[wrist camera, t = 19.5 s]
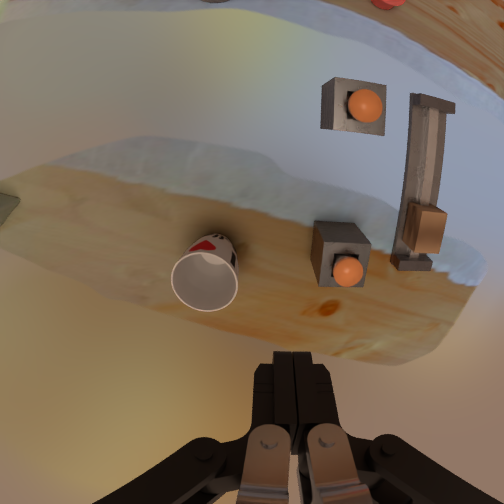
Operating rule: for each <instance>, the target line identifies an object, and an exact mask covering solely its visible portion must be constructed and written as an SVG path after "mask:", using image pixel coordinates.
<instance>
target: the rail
mask: <svg viewBox="0 0 504 504" xmlns="http://www.w3.org/2000/svg"><path fill="white" fill-rule="evenodd" d="M409 109H410V110H409V128H408V142H407V154H406V165H405V173H404V182H403V190H402V197H401V204H400V210H399V216H398V222H397V228H396V234H395V239H394V244H393V249H392V254H391V259H390V262H391V264H392V265H394V266H395V267H396V269H397V270H399V271H430V270H431V267H432V263H433V261H432V260H431V259H430V258H429V257H428V256H427V255H426V254H427V253H414V252H413V251H412V250H411V249H410V248H409V247H408V246H407V245H406V244H405V243H404V242H403V241H402V239H403V234H404V229H405V223H406V218H407V212H408V205H409V202H412V203H417V204H418V205H423V206H429V204H430V205H434V206H436V205H437V199H438V193H439V186H440V179H441V172H442V163H443V154H444V143H445V130H446V114H455V103H453V102H450V101H446V100H443V99H440V98H436V97H432V96H429V95H425V94H421V93H420V94H415V93H410V108H409Z"/></svg>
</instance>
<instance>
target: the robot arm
mask: <svg viewBox="0 0 504 504" xmlns="http://www.w3.org/2000/svg"><path fill="white" fill-rule="evenodd" d="M202 1H205V2H210V3H218V2H225V1H228V0H202ZM252 408H253V409H252V424H251V427H250V430H249V431H248V432H247V434H246V435H244V436H243V437H241V438H240V439H237V440H234V441H229V442H224V443H220V442H219V441H217V440H215V439H212V438H208V437H201V438H196V439H194V440H192V441H190V442H189V443H187V444H186V445H184V446H183V447H182V448H180V449H179V450H177V451H176V452H175V453H173V454H172V455H170V456H169V457H167V458H166V459H164V460H163V461H162V462H160V463H159V464H157V465H155V466H154V467H153V468H151V469H149V470H148V471H146V472H145V473H143V474H142V475H140V476H139V477H137V478H135V479H134V480H132V481H131V482H129V483H127V484H126V485H124V486H122V487H121V488H119V489H117V490H116V491H114V492H112V493H110V494H109V495H107V496H105V497H103V498H102V499H100V500H98V501H96V502H94V503H92V504H213V503H214V502H215V501H216V500H218V499H219V498H220V497H221V496H222V495H224V494H225V493H226V492H229V491H234V490H238V489H239V491H238V495H237V501H236V504H288V502H289V493H288V477H289V461H290V451H291V455H298V463H299V464H298V467H297V478H298V486H299V492H300V500H301V504H503V503H502V502H500V501H498V500H496V499H495V498H493V497H491V496H489V495H488V494H486V493H484V492H483V491H481V490H479V489H478V488H476V487H474V486H472V485H471V484H469V483H468V482H466V481H464V480H463V479H461V478H460V477H458V476H456V475H455V474H453V473H452V472H450V471H449V470H447V469H445V468H444V467H442V466H441V465H439V464H437V463H436V462H435V461H433V460H431V459H430V458H428V457H427V456H426V455H424V454H423V453H421V452H420V451H418V450H417V449H415V448H414V447H412V446H411V445H409V444H408V443H406V442H405V441H404V440H402V439H401V438H399V437H398V436H395V435H391V434H384V435H380V436H378V437H376V438H375V439H374V440H373V441H372V440H367V439H361V438H356V437H353V436H351V435H349V434H347V433H346V432H345V431H344V430H343V429H342V427H341V426H340V423H339V418H338V412H337V407H336V402H335V397H334V393H333V387H332V381H331V377H330V373H329V371H328V370H327V369H326V367H325V366H324V365H323V364H313V363H312V356H311V352H280V351H274V352H273V362H272V364H260V365H259V366H258V368H257V369H256V371H255V373H254V388H253V407H252Z"/></svg>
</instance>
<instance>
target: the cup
mask: <svg viewBox="0 0 504 504" xmlns="http://www.w3.org/2000/svg"><path fill="white" fill-rule="evenodd" d="M238 273H239V266H238V260H237V255H236V251H235V249H234V247H233V245H232V243H231V242H230V240H229V239H228V238H226V237H225V236H223V235H220V234H210V235H207V236H204V237H202V238H200V239H198V240H197V241H196V242H195V243H194V244H192V245H191V246H190V247H189V248H188V249H187V250H186V251H185V252H184V254H183V255H182V256H181V258H180V259H179V260H178V262H177V263H176V264H175V266H174V268H173V270H172V274H171V284H172V287H173V290H174V292H175V294H176V295H177V297H178V298H179V299H180V300H181V301H182V302H183V303H184V304H186V305H187V306H189V307H191V308H193V309H196V310H199V311H206V312H210V311H217V310H220V309H222V308H224V307H226V306H227V305H229V304H230V303H231V302H232V301H233V299H234V298H235V296H236V293H237V289H238Z"/></svg>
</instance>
